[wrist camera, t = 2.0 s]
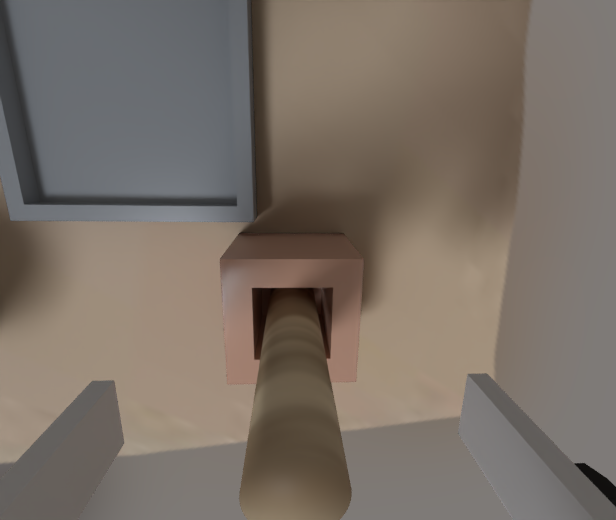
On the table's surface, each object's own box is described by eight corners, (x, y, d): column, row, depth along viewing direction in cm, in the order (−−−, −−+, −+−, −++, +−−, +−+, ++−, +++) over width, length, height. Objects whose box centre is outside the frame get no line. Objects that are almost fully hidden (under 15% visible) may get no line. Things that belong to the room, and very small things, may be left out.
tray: (-51, -216, 17) (-105, -277, 15) (245, -194, 18) (239, -248, 15) (38, 215, 23) (10, 220, 21) (257, 216, 24) (253, 222, 21)
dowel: (271, 267, 24) (236, 454, 8) (312, 267, 24) (354, 450, 8) (271, 305, 25) (241, 540, 9) (311, 305, 25) (348, 535, 9)
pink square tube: (239, 233, 24) (219, 259, 17) (343, 233, 24) (364, 259, 18) (243, 328, 26) (227, 384, 19) (339, 326, 26) (356, 381, 20)
